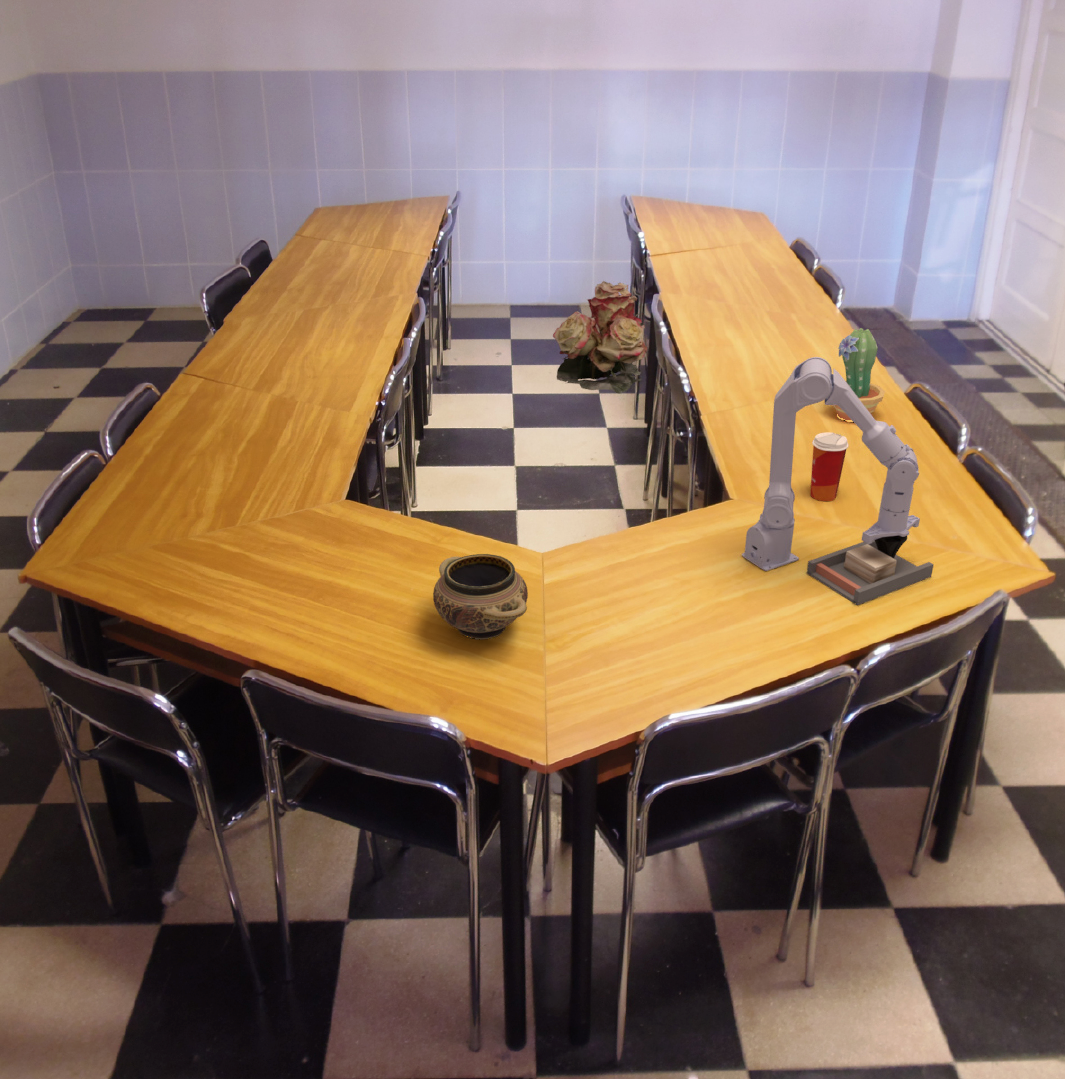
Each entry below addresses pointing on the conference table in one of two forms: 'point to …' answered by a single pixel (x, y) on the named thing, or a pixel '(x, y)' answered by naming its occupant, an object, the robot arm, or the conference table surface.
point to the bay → (856, 588)
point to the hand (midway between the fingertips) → (884, 563)
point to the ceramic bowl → (480, 594)
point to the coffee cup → (827, 465)
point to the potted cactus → (860, 369)
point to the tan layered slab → (869, 563)
